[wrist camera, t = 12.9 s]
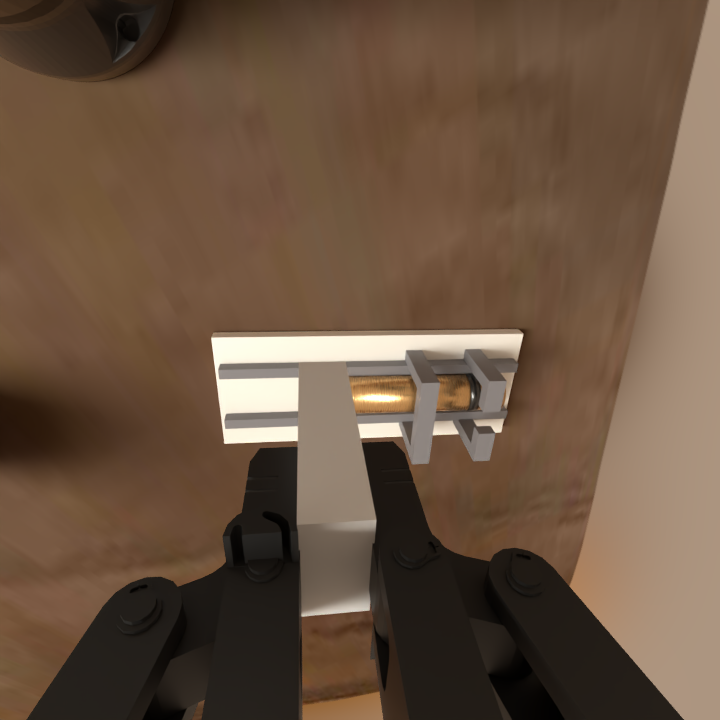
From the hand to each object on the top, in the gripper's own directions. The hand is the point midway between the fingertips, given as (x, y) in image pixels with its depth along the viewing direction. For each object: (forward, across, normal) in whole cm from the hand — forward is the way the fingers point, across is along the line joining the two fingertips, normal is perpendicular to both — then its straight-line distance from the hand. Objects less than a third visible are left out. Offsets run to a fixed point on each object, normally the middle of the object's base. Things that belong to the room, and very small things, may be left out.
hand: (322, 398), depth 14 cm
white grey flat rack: (+26, +6, -15) cm, 31 cm away
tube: (+25, +11, -15) cm, 31 cm away
